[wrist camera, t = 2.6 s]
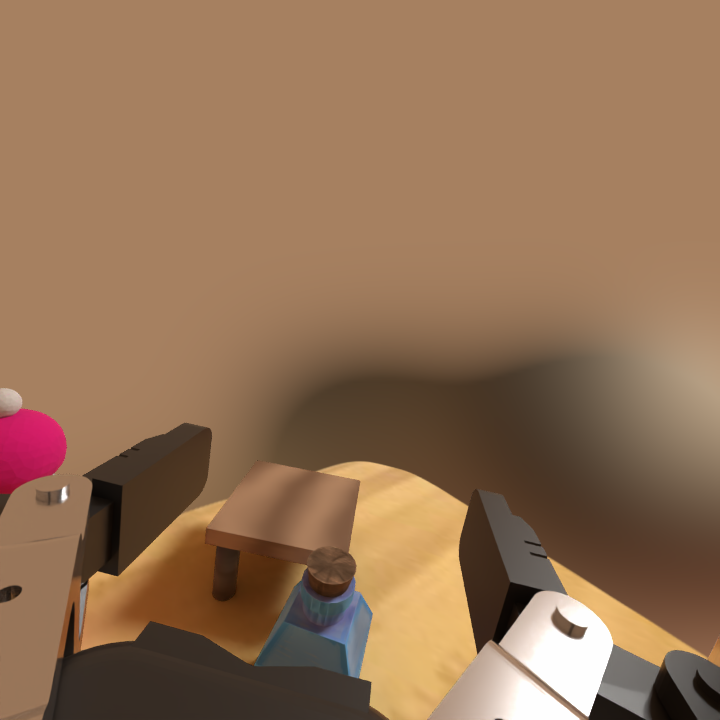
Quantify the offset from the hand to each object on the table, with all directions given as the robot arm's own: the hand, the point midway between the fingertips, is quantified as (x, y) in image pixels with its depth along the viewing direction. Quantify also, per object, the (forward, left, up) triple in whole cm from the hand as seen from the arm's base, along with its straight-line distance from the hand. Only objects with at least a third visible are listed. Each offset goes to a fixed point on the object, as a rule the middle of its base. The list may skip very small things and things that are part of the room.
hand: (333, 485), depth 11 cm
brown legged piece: (+5, -22, -24) cm, 33 cm away
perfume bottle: (0, -10, -24) cm, 26 cm away
